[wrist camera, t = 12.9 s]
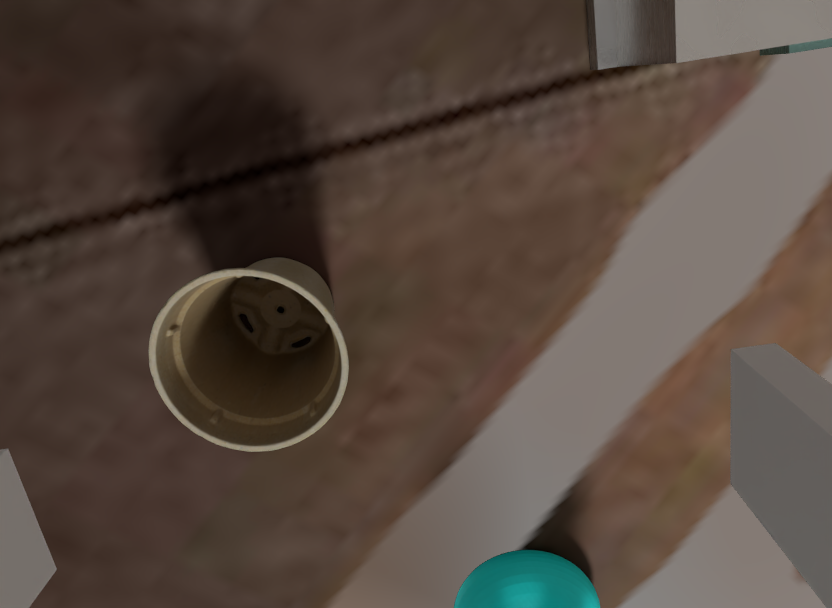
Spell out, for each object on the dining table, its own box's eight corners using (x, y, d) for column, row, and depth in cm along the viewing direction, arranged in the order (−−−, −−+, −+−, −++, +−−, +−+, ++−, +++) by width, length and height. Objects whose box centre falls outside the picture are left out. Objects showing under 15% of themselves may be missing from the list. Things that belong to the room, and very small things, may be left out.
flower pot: (269, 193, 37) (227, 226, 29) (394, 299, 39) (388, 358, 31) (172, 310, 39) (109, 371, 31) (296, 404, 41) (266, 485, 33)
